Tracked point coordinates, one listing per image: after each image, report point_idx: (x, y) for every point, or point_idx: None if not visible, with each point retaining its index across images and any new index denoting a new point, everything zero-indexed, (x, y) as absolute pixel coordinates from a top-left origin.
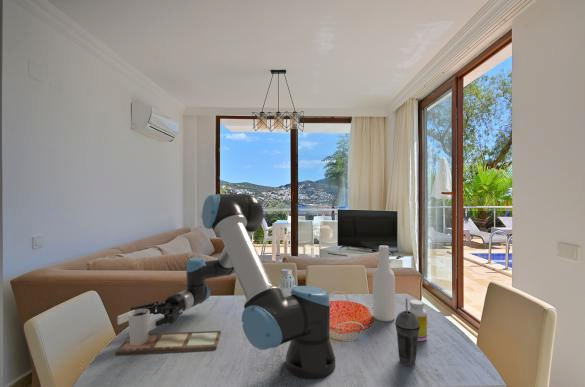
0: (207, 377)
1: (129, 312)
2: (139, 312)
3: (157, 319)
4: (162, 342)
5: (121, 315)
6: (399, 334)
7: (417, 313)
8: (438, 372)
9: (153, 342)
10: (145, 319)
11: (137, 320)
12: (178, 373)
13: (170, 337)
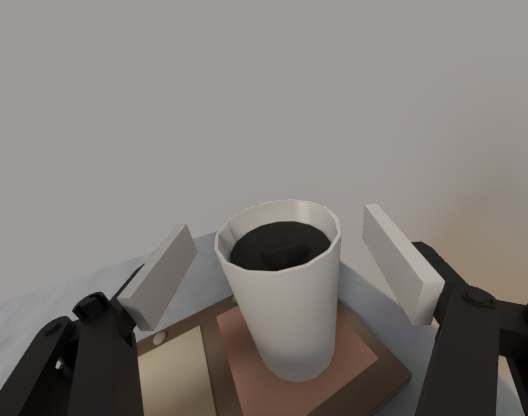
0: (26, 301)
1: (393, 243)
2: (328, 268)
3: (147, 266)
4: (182, 375)
5: (374, 213)
6: None
7: None
8: None
9: (226, 358)
10: (227, 256)
11: (249, 229)
12: (98, 285)
13: None
